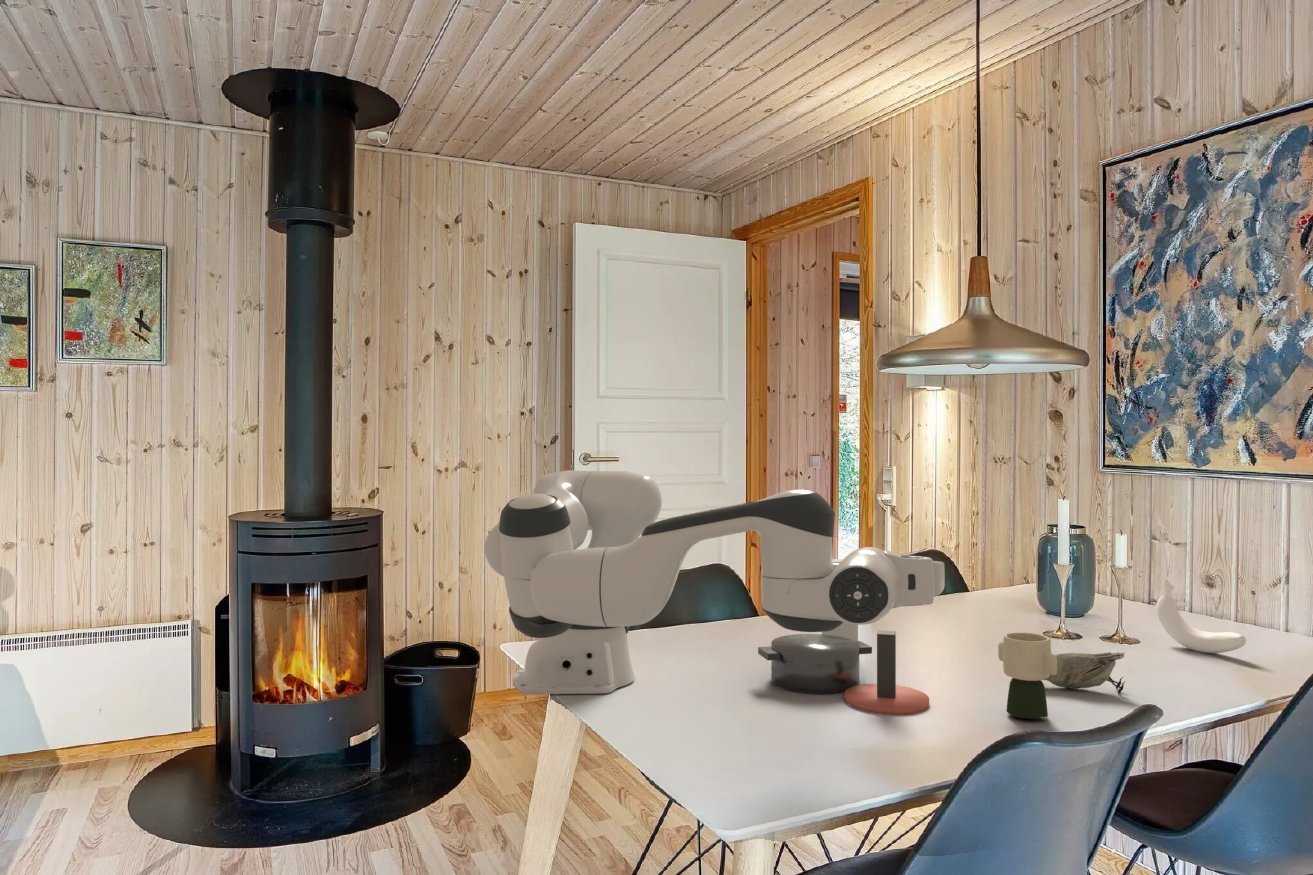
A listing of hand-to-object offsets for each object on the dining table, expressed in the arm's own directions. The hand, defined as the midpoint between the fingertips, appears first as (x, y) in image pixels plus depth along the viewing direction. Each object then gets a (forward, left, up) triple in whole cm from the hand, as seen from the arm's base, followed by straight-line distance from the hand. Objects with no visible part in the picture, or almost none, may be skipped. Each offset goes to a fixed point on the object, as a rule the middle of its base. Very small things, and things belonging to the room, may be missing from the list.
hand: (876, 568), depth 137 cm
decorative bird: (+44, +11, -25) cm, 52 cm away
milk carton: (+13, +41, -25) cm, 50 cm away
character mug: (+26, -1, -25) cm, 36 cm away
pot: (+1, +26, -25) cm, 36 cm away
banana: (+88, +27, -25) cm, 96 cm away
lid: (+8, +12, -25) cm, 29 cm away
